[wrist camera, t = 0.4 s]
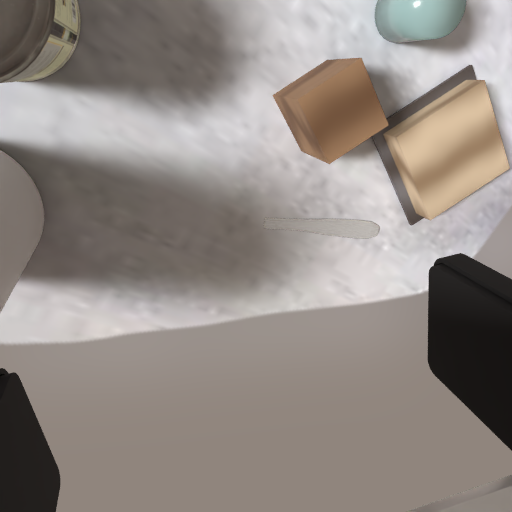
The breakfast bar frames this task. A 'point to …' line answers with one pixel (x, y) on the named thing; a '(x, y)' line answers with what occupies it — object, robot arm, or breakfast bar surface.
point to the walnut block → (332, 108)
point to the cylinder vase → (17, 223)
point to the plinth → (442, 146)
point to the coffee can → (36, 37)
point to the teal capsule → (417, 19)
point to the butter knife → (326, 226)
